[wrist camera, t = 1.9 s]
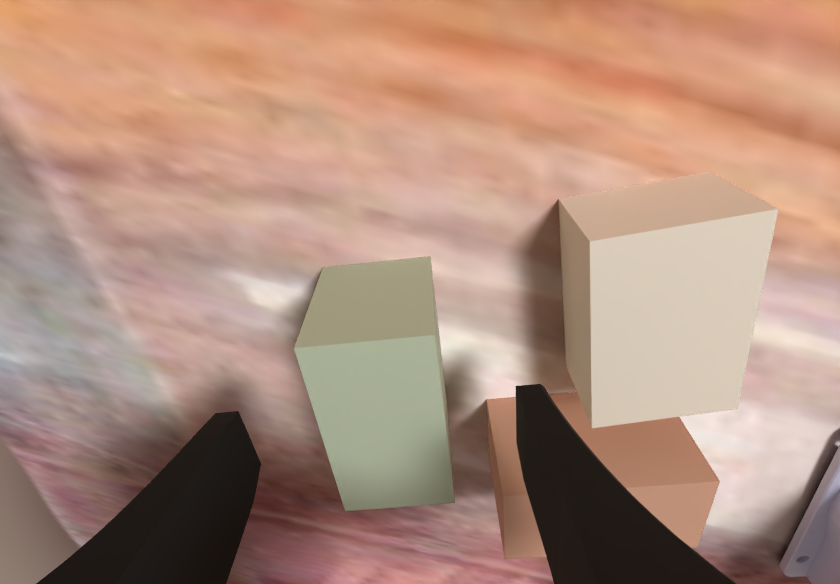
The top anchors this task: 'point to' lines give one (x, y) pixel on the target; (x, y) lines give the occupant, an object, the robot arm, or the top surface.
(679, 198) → the cream brick
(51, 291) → the top surface
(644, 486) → the terracotta brick
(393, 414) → the green brick
